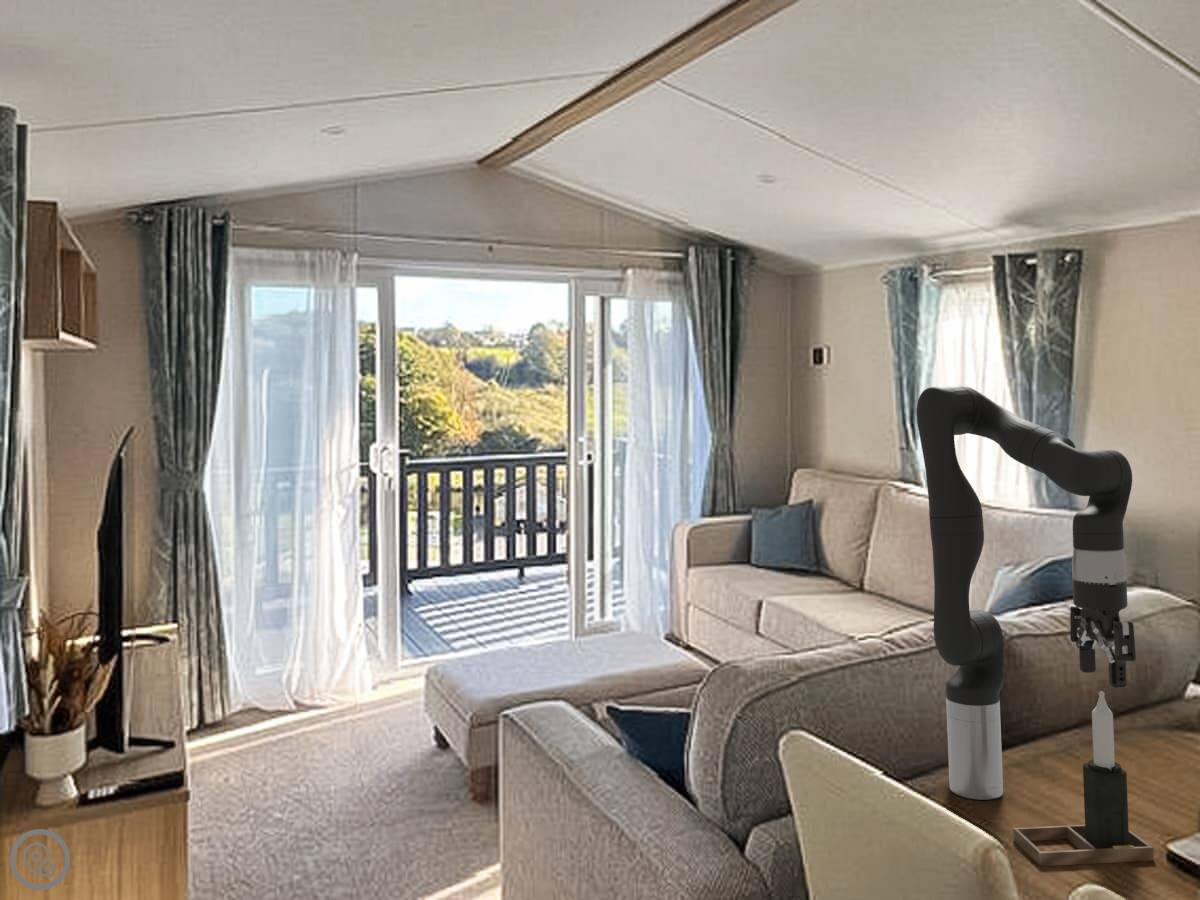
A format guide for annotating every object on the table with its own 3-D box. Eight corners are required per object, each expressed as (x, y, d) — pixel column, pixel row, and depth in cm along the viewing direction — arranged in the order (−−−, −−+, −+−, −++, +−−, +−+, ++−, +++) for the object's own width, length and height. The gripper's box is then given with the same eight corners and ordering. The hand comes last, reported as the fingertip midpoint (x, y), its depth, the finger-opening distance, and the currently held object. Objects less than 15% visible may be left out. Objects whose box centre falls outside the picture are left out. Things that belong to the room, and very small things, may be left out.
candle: (1114, 840, 149) (1108, 686, 148) (1132, 854, 143) (1127, 695, 143) (1082, 841, 149) (1077, 687, 148) (1100, 856, 143) (1094, 697, 143)
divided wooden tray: (1040, 866, 141) (1040, 851, 141) (1013, 840, 150) (1013, 826, 150) (1154, 860, 141) (1153, 845, 141) (1120, 834, 150) (1119, 820, 150)
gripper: (1052, 571, 152) (1056, 668, 152) (1100, 585, 138) (1104, 693, 138) (1097, 569, 152) (1101, 666, 152) (1150, 583, 138) (1153, 690, 138)
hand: (1102, 679), depth 145 cm, fingers open, 8 cm apart
